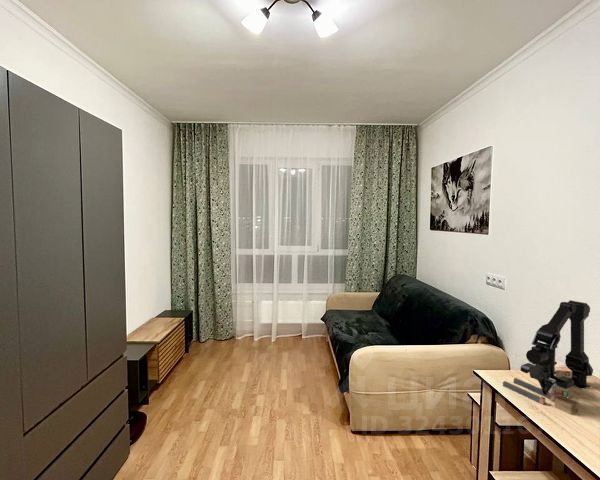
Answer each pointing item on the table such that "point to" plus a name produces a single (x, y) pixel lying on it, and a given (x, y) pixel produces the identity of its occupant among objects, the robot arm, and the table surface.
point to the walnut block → (566, 405)
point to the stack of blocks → (560, 371)
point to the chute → (528, 394)
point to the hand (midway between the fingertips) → (545, 394)
